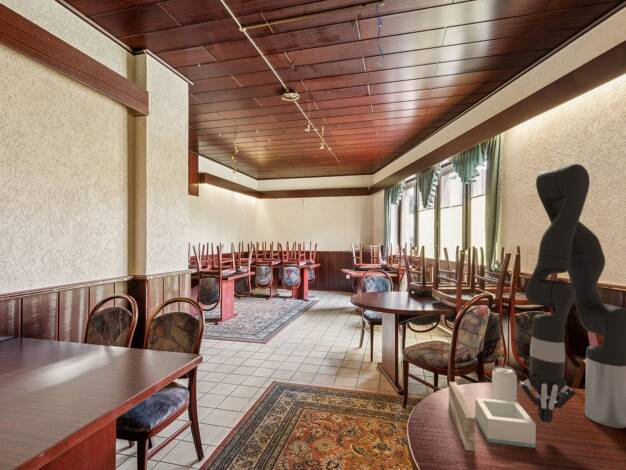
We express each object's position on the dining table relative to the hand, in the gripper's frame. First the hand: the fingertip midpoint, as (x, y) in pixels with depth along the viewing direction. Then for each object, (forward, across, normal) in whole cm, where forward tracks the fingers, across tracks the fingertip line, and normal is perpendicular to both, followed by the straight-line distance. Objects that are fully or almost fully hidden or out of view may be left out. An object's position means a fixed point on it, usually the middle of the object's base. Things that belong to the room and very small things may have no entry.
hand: (544, 421), depth 87 cm
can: (+4, +6, -13) cm, 14 cm away
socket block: (+4, +10, 0) cm, 11 cm away
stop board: (+4, +21, +1) cm, 21 cm away
